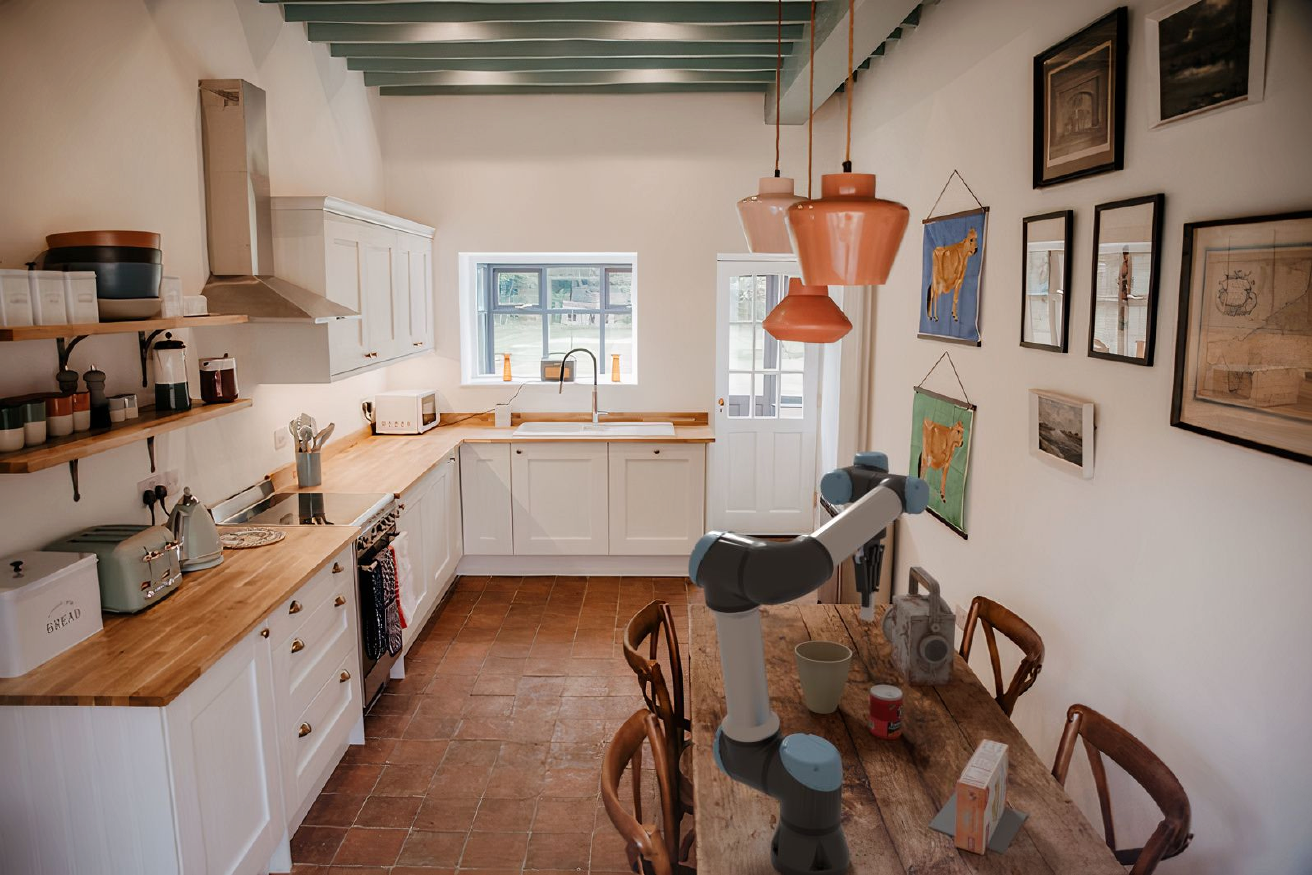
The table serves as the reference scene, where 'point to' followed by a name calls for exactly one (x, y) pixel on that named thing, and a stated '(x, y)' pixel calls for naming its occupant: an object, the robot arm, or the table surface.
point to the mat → (1001, 835)
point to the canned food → (886, 711)
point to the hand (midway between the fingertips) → (867, 619)
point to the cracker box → (981, 796)
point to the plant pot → (822, 673)
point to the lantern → (921, 633)
